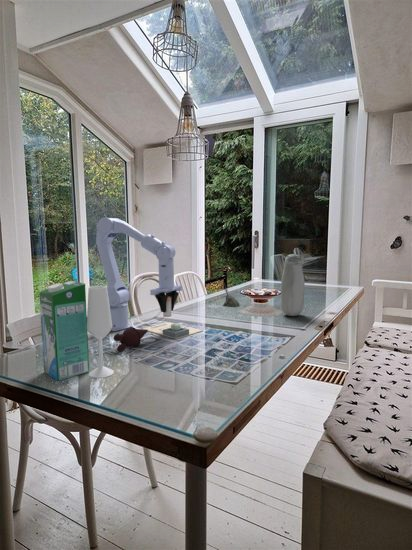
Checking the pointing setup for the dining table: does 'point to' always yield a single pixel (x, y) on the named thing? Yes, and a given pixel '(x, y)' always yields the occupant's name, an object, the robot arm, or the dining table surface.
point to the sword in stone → (230, 300)
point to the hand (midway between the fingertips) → (167, 311)
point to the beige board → (159, 328)
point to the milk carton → (64, 330)
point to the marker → (168, 308)
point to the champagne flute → (99, 324)
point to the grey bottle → (292, 286)
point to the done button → (175, 327)
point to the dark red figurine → (129, 338)
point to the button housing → (175, 334)
